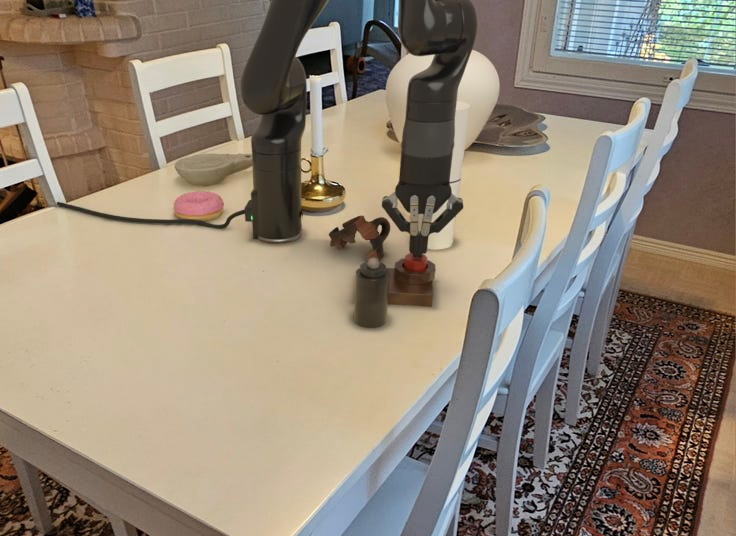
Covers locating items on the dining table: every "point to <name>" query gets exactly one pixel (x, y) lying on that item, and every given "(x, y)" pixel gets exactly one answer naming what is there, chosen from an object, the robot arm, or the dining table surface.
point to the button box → (411, 285)
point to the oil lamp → (211, 167)
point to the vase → (473, 89)
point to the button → (415, 262)
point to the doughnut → (198, 206)
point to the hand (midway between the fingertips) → (417, 254)
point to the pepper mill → (371, 294)
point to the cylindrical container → (451, 179)
